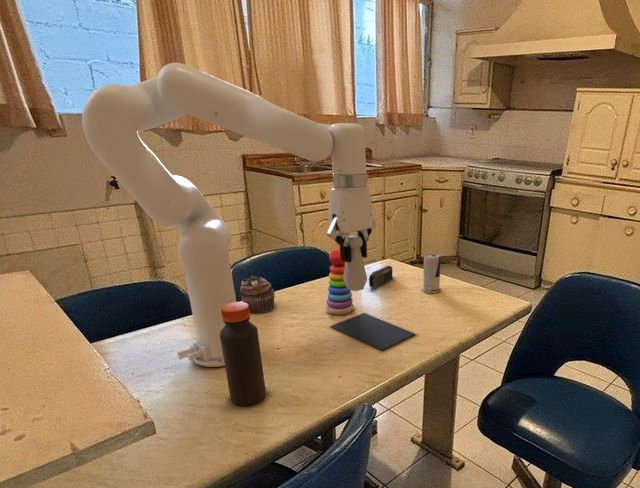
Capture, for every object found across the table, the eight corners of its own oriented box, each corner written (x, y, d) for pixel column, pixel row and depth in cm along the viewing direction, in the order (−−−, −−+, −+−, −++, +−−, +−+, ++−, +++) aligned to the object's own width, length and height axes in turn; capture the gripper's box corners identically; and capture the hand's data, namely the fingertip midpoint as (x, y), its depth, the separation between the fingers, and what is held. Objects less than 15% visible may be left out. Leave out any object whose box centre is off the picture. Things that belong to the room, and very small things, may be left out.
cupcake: (267, 315, 130) (263, 282, 126) (236, 313, 132) (231, 280, 128) (282, 303, 139) (278, 272, 135) (253, 300, 140) (248, 270, 136)
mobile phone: (386, 264, 161) (365, 275, 148) (393, 265, 160) (373, 276, 147) (386, 277, 163) (365, 289, 150) (393, 278, 161) (373, 291, 148)
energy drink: (442, 289, 151) (443, 255, 146) (434, 294, 147) (435, 259, 142) (428, 286, 154) (429, 252, 149) (420, 291, 149) (420, 256, 145)
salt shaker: (342, 285, 114) (339, 234, 110) (365, 283, 116) (362, 233, 111) (346, 293, 109) (342, 240, 104) (369, 290, 111) (367, 238, 106)
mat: (382, 351, 111) (382, 349, 111) (330, 327, 123) (330, 325, 123) (415, 335, 120) (415, 333, 119) (363, 314, 132) (363, 312, 132)
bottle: (225, 396, 93) (209, 306, 85) (256, 384, 97) (244, 297, 89) (239, 411, 88) (224, 317, 81) (272, 397, 92) (260, 307, 85)
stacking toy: (351, 316, 130) (348, 253, 123) (324, 315, 130) (319, 252, 123) (355, 305, 138) (353, 245, 131) (329, 305, 138) (325, 245, 131)
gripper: (366, 176, 111) (369, 249, 118) (309, 183, 99) (316, 263, 106) (388, 179, 106) (389, 254, 113) (330, 187, 95) (336, 270, 102)
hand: (354, 258), depth 110 cm, fingers closed on salt shaker, 4 cm apart
